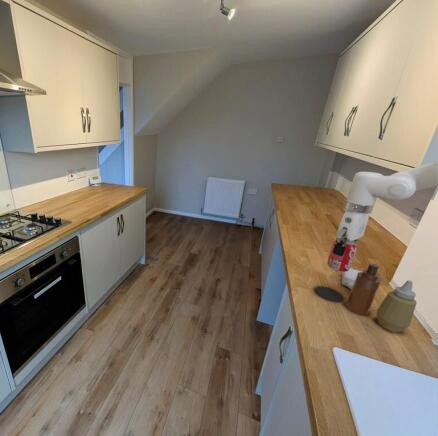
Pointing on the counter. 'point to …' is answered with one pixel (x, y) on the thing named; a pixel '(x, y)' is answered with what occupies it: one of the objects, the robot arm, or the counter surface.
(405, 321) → the squeeze bottle
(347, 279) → the charger
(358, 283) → the stoneware bottle
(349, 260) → the soda can
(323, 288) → the coaster
